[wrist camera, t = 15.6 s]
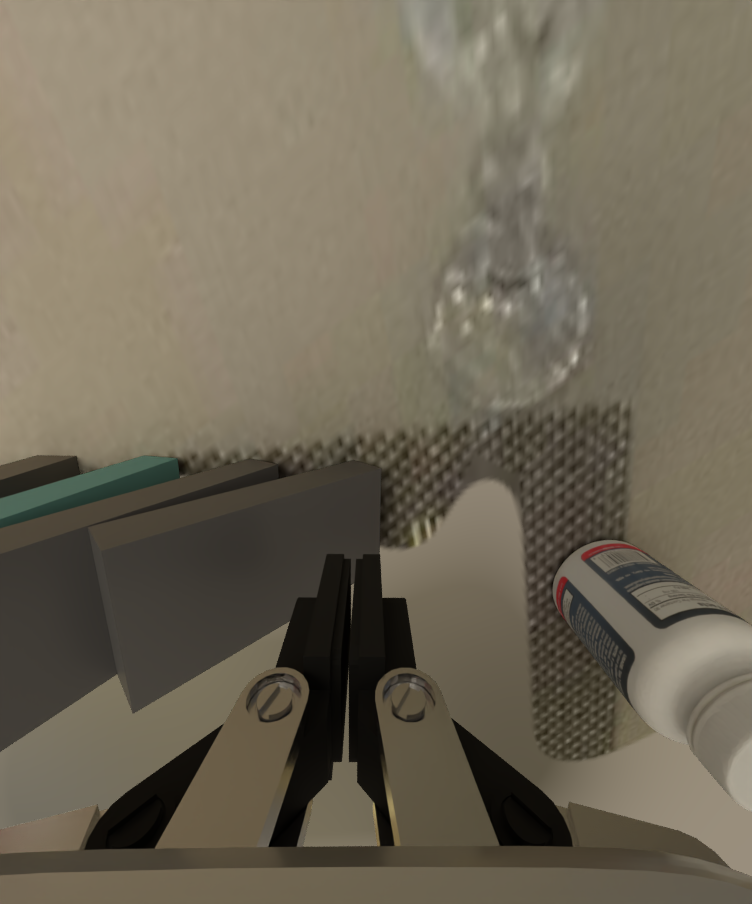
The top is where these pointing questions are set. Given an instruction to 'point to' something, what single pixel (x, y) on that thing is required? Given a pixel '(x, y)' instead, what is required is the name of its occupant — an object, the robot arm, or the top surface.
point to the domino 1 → (87, 488)
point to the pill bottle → (666, 653)
